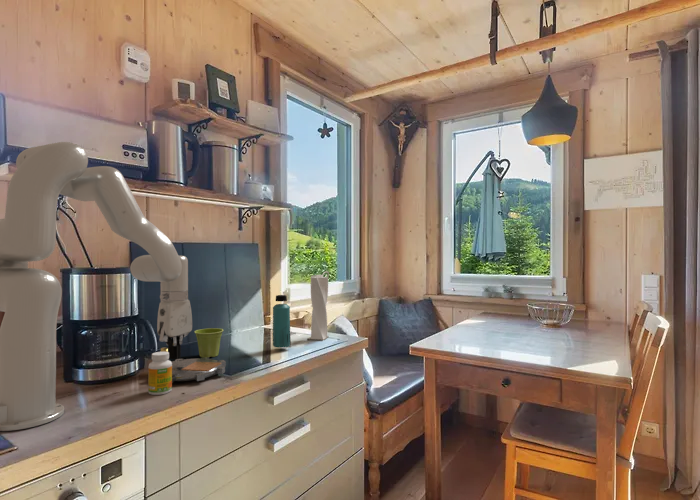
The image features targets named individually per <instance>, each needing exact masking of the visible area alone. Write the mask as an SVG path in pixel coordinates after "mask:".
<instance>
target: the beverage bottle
mask: <svg viewBox="0 0 700 500" xmlns="http://www.w3.org/2000/svg"><path fill="white" fill-rule="evenodd" d="M287 301H288V297H287V295H286V294H279V295H277V294H276V295H275V302H287ZM290 309H291V306H290V305H288V304H287V303H286V304H285V303H277V304H274V306H273V307H272V326H271V327H272V346H273V347H274V348H281V349H282V348H288V347H290V346H291V316H290V315H291V313H290V311H291V310H290Z"/></svg>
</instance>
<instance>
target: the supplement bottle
mask: <svg viewBox="0 0 700 500" xmlns="http://www.w3.org/2000/svg"><path fill="white" fill-rule="evenodd" d="M151 360H152V361H151V362H149V364H148V372H149V376H148V375H147V378H148V379H147V380H148V381H147V382H148V384H147V385H148V387H147V388H148V394H149V395H152V396H160V395H166V394H169V393H170V392H172V390H173V383H172V361H171V360H170V359H169V352H161V351H157V352H156V351H155V352H153V353H151Z"/></svg>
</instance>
